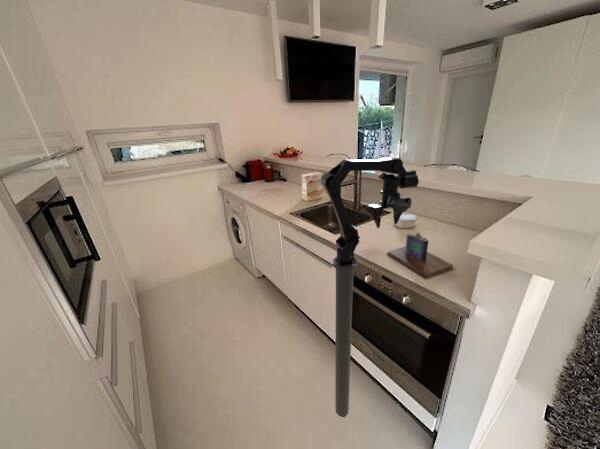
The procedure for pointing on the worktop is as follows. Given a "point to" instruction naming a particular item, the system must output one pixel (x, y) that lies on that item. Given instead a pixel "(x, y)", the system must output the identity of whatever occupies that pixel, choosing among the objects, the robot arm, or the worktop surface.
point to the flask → (416, 246)
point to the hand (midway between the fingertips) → (386, 225)
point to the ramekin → (406, 220)
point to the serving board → (421, 263)
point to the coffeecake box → (312, 186)
